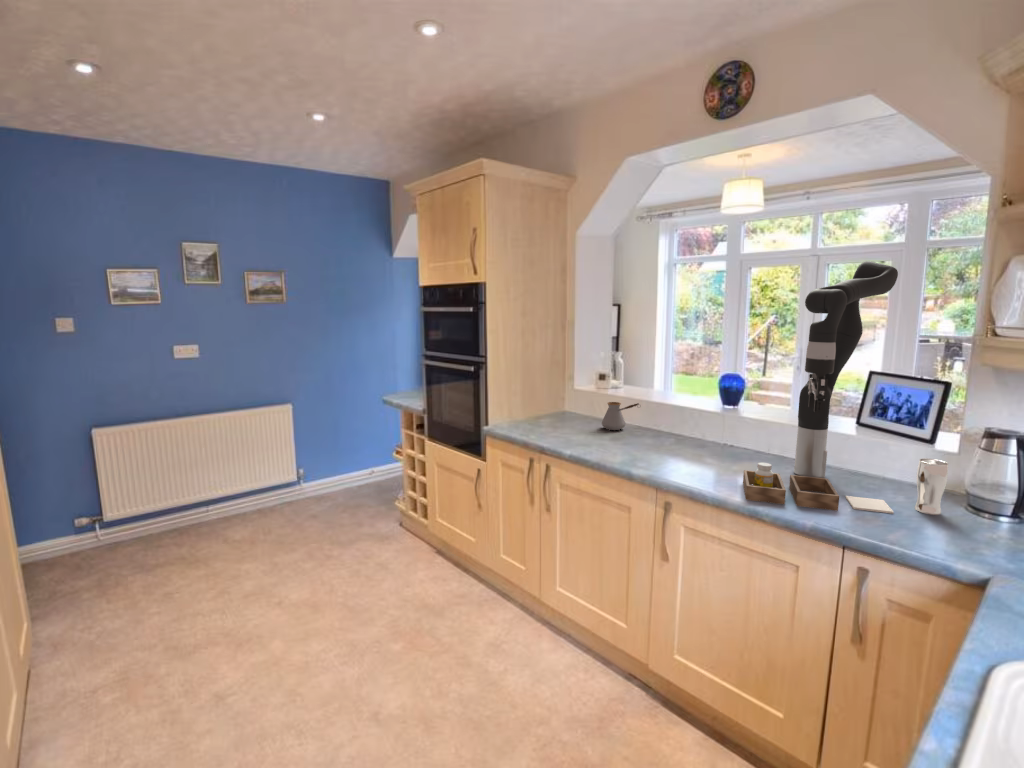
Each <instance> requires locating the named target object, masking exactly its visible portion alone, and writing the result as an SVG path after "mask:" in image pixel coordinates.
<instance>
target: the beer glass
mask: <svg viewBox="0 0 1024 768" xmlns="http://www.w3.org/2000/svg"><path fill="white" fill-rule="evenodd" d="M948 466H949V463H948V462H946V461H944V460H941V459H934V458H919V461H918V465H917V469H916V486H917V487H916V488H917V499H916V503H915V505H914V510H915V511H916V510H917V511H916V512H918V511H919V513H921V514H925V515H930V516H932V515H933V516H939V515H941V513H942V509H941V500H942V497H943V495H944V492H945V488H946V485H947V483H948V474H949V467H948Z"/></svg>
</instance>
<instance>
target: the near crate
mask: <svg viewBox="0 0 1024 768" xmlns="http://www.w3.org/2000/svg"><path fill="white" fill-rule="evenodd" d="M788 488H789V490H790V491H789V492H790V494H791V496H792V498H793V501H794V503H795V506H796V507H802V508H804V507H805V508H811V509H817V510H818V509H819V510H825V511H826V510H827V511H834V512H835V511H836V512H837V511H839V505H840V494H838V492H837V490H836V489H835V487H834V486H833V484H832V483H831V481H830V479H829V478H826V477H825V478H816V477H806V476H800V475H797V474H790V475H789V485H788Z"/></svg>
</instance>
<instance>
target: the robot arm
mask: <svg viewBox="0 0 1024 768" xmlns="http://www.w3.org/2000/svg"><path fill="white" fill-rule="evenodd" d="M898 272H899V271H898V269H897V268H896V267H894V266H891V265H887V264H885V263H884V264H883V263H879V262H875V261H870V260H865V261H862V262H861V263H860V264H859V265H858V267H857V268H856V270H855V272H854V274H853V277H852V278H849V279H845V280H842V281H840V282H838V283H835V284H833V285H828V286H823V287H818V288H816V289H813V290H812V291H810V292H809V293H808V294H807V296H806V297H805V301H804V304H805V305H804V306H805V308H806V309H807V311H809V312H810V313H812V314H827V315H826V316H825V319H823V320H819V321H815V322H812V323H811V324H810V325H809V333H808V334H809V335H808V342H807V343H808V344H807V347H806V354H805V364H804V372H806V373H808V374H809V378H808V381H807V383H805V385H804V386H803V387H802V388H801V390H800V392H799V399H798V412H797V420H798V421H797V431H796V433H797V434H796V442H795V443H796V445H795V446H796V447H795V459H794V466H793V467H794V468H793V469H794V470H793V472H794V475H796V476H806V477H816V478H825V479H826V471H827V468H826V467H827V458H828V450H827V442H828V441H827V440H828V433H829V422H830V421H829V419H830V418H829V416H830V415H829V414H830V406H831V405H830V404H831V399H832V395H833V391H834V388H835V386H836V382H837V380H838V377H839V375H840V373H841V372H842V370H843V368H845V365H846V364H847V363H848V361H849V359H851V357H852V355H853V353H854V351H855V350H856V348H857V346H858V344H859V342H860V339H861V338H862V335H863V323H862V317H861V311H860V300H861V299H864V298H869V297H870V298H871V297H874V296H880V295H885V294H887V293H888V292H889V291H891V290H892V289H893V288H894V286H895V285H896V282H897V280H898V275H899V273H898Z"/></svg>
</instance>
